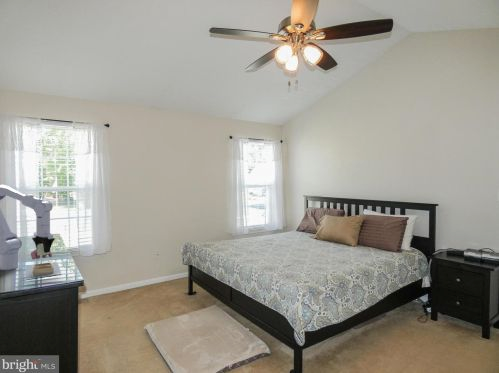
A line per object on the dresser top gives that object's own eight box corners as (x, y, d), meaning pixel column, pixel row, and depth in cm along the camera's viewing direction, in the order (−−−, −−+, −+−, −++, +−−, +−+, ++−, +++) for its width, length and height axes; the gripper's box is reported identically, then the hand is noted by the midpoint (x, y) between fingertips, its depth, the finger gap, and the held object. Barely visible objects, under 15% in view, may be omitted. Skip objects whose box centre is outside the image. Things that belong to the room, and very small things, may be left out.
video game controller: (50, 259, 179) (48, 248, 181) (53, 256, 176) (51, 245, 178) (30, 262, 171) (29, 250, 173) (33, 260, 169) (31, 248, 170)
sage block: (39, 253, 153) (39, 243, 153) (49, 252, 155) (49, 242, 155) (37, 255, 149) (37, 245, 149) (48, 254, 151) (48, 244, 151)
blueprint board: (25, 267, 156) (25, 259, 156) (57, 263, 164) (57, 255, 164) (25, 280, 137) (25, 271, 137) (61, 274, 145) (61, 266, 145)
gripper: (27, 224, 152) (27, 251, 152) (42, 227, 145) (42, 255, 145) (42, 223, 158) (42, 248, 158) (57, 225, 151) (57, 252, 151)
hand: (43, 251), depth 152 cm, fingers closed on sage block, 6 cm apart
